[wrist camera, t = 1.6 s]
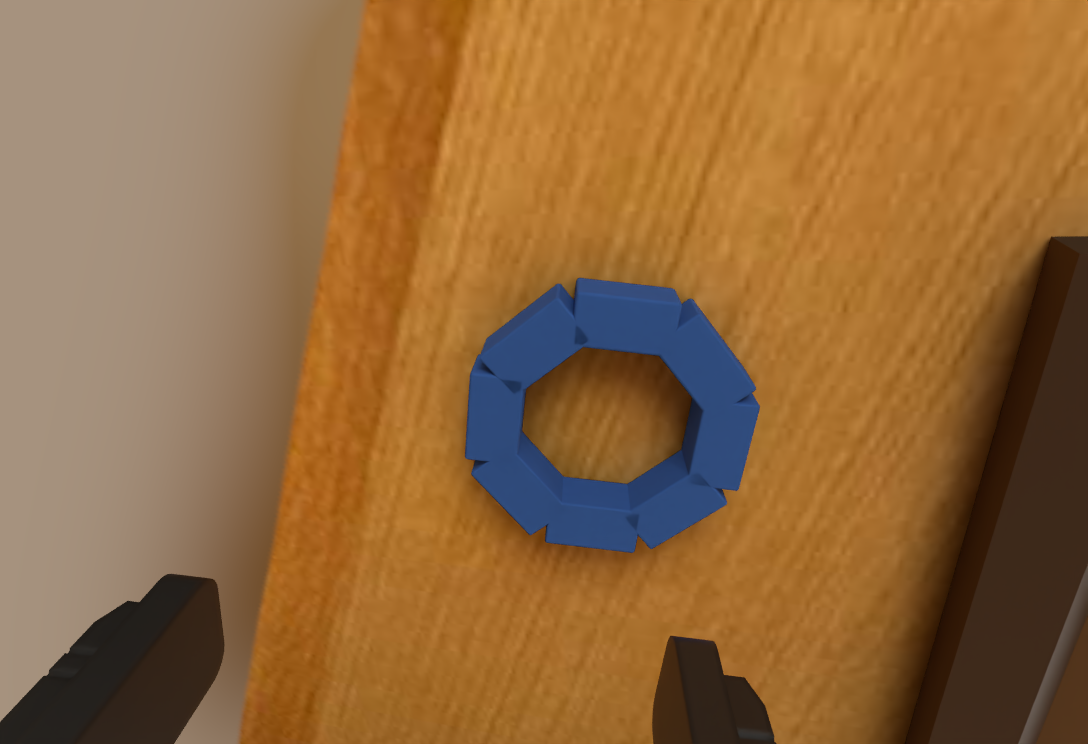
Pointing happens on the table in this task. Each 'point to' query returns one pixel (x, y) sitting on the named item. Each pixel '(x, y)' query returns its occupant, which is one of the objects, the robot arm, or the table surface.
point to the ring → (597, 506)
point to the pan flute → (1024, 546)
